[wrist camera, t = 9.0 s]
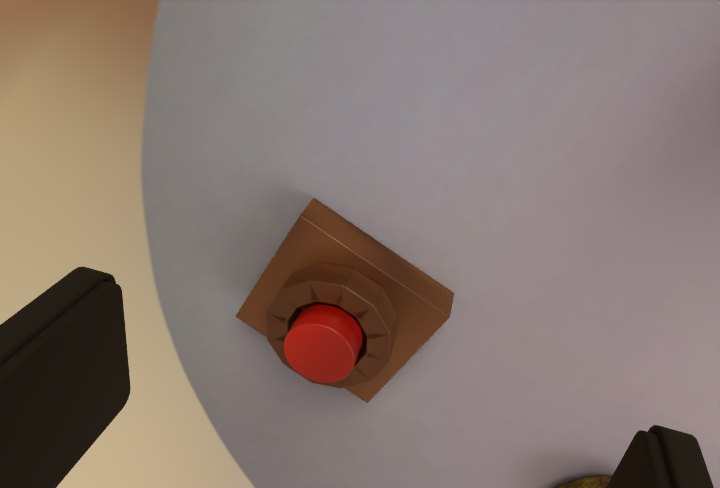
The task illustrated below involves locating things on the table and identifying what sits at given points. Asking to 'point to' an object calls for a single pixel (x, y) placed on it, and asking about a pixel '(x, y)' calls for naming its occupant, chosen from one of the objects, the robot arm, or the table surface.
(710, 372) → the table surface
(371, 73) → the table surface
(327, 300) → the button block
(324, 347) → the button
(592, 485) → the toy car
